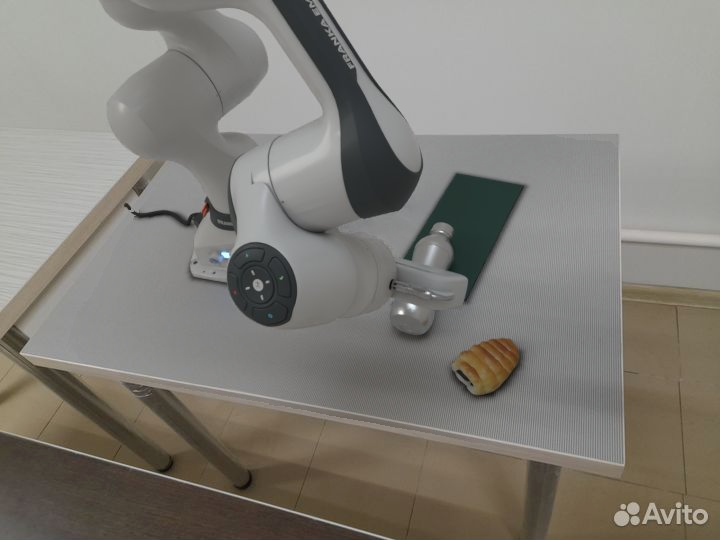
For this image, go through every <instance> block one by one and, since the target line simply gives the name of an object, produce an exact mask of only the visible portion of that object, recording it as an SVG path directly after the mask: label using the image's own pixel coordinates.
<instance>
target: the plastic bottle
mask: <svg viewBox="0 0 720 540" xmlns="http://www.w3.org/2000/svg"><path fill="white" fill-rule="evenodd" d="M453 235H454V229H453V228H452V227H451V226H450V225H449V224H446V223H442V222H439V223H436V224H434V226H433V228H432V230H431V231H430V233H429V236H426V237H424V238H422V239H421V240H420V241H419V242H418V243H417V244H416V246H415V249H414V252H413V257H412V261H413V262H416V263H420V264H424V265H428V266H431V267H435V268H439V269H443V270H446V271H448V270H449V268H450V266H451V265H452V263H453V260H454V250H453V247H452V245H451V242H452V240H453ZM435 314H436V310H434V309H428V308H424V307H420V306H417V305H413V304H410V303H407V302H404V301H400V300H397V299H394V298H393V301H392V303H391V305H390V308H389V315H388V316H389V320H390V323H391V324H392V326H393V327H395V328H396V329H397V330H398V331H401V332H402V333H405V334H408V335H412V336H420V335H423V334H425V333H426V332H428V331H429V330H430V328H431V327H432V325H433V323H434V320H435V316H436V315H435Z"/></svg>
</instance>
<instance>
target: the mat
mask: <svg viewBox="0 0 720 540" xmlns="http://www.w3.org/2000/svg"><path fill="white" fill-rule="evenodd" d="M523 189H524V184H518V183H513V182H507V181H501V180H496V179H490V178H485V177H481V176H474V175H468V174H463V173H455V175H454V176H453V178H452V180H451V182H450V183H449V185H448V187H447V188H446V190H445V191H444V193H443V195H442V196H441V198H440V199H439V201H438V203H437V204H436V206H435V208H434V209H433V210H432V212H431V214H430V215H429V217H428V219H427V221H426V222H425V224H424V225H423V226H422V228H421V230H420V231H419V233H418V235H417V236H416V238H415V240H414V241H413V243H412V244H411V246H410V247H409V250H408V251H407V253H406V254H405V256H404V257H403V259H405V260H409V261H412V257H413V252H414V249H415V246H416V244H417V243H418V242H419V241H420V240H421V239H422V238H424V237H426V236H429V233H430V231H431V230H432V228H433V226H434V224H436V223H439V222H442V223H446V224H449V225H450V226H451V227H452V228H453V229H454V235H453V240H452V242H451V245H452V247H453V250H454V260H453V263H452V265H451V266H450V268H449V270H448V271H450V272H454V273H457V274H461V275H463V276H465V277H466V278H467V279H468V286H467V290H466V295H465V298H464V302H466V301H467V299H468V297H469V295H470V293H471V291H472V289H473V287H474V285H475V283H476V281H477V279H478V277H479V276H480V273H481V272H482V269H483V268H484V266H485V264H486V262H487V260H488V258H489V256H490V254H491V252H492V250H493V248H494V246H495V244H496V242H497V240H498V238H499V236H500V234H501V232H502V230H503V228H504V226H505V224H506V222H507V220H508V218H509V216H510V214H511V212H512V210H513V208H514V206H515V204H516V202H517V201H518V198H519V196H520V194H521V193H522V191H523Z"/></svg>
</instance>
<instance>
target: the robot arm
mask: <svg viewBox="0 0 720 540" xmlns="http://www.w3.org/2000/svg"><path fill="white" fill-rule="evenodd" d="M98 1H99V3H100V5H101V6H102V9H103V11H104V12H105V13H106V14H107V15H108V17H109V18H110V19H112V20H113V21H114V22H115V23H117V24H118V25H120V26H122V27H124V28H127V29H130V30H135V31H143V32H145V31H146V32H147V31H148V32H158V33H159V35H160V36H161V37H162V39H163V40H164V42H165V45H166V47H167V50H166V51H165V52H164V53H163V54H161V55H159V57H157V58H155V59H154V60H153V61H151V62H149V63H148V64H147V65H145V66H144V67H141V68H140V69H139V70H137V71H136V72H134V73H133V74H131V75H130V76H129V77H128V78H127V79H125V81H124V82H123V83H122V84H121V85H120V86H119V87H118V89H116V91H115V92H113V94H112V95H111V96H110V97H109V99H108V100H107V102H106V117H107V121H108V124H109V125H108V126H109V127H110V130H111V132H112V133H113V135H114V137H115V138H116V139H117V141H118V142H119V143H120V144H121V145H122V147H124V148H125V149H126V150H127V151H129V152H130V153H132V154H134V155H136V156H138V157H141V158H142V159H143V158H144V159H145V160H146V159H147V160H150V161H168V162H173V163H175V164H178V165H180V166H182V167H184V168H185V169H187V170H188V171H189V172H190V174H192V175H193V177H194V178H195V179H196V181H197V183H198V184H199V186H200V188H201V189H202V190H203V191H204V193H205V195H206V197H205V198H204V201H203V202H204V205H203V207H202V209H201V211H199V212H198V211H197V212H193V213H191V214H190V215H189V216H188V218H187V220H185V219H183V218H182V217H181V216H180V215H178V214H177V213H176V212H174V211H171V210H167V209H160V210H154V211H149V212H137V211H135V210H134V212H130V213H131V214H132V215H134V216H135V217H141V218H142V217H143V218H144V217H151V216H157V215H162V214H163V215H171V216H172V217H174V218H175V219H176V220H177V221H179V223H181V224H183V225H186V226H187V225H190V224H191V223H192V222H193V223H194V225H195V227H196V231H195V233H194V237H193V251H192V255H191V258H190V264H189V267H190V272H191V275H192V276H193V277H195V278H198V279H202V280H203V279H204V280H209V281H214V282H221V283H225V284H226V285H227V289H228V292H229V296H230V298H231V300H232V302H233V303H234V305H235V306H236V308H237V309H238V310H239V311H240V312H241V313H242V314H243V315H244V316H245V317H246V318H248V320H250V321H252V322H254V323H256V324H258V325H260V326H262V327H265V328H269V329H274V330H283V331H284V330H286V331H287V330H288V331H291V330H301V329H303V330H304V329H308V328H313V327H319V326H322V325H326V324H330V323H333V322H335V321H336V320H342V319H350V318H354V317H357V316H362V315H365V314H370V313H373V312H375V311H377V310H379V309H381V308H382V307H384V306H385V305H386V304H387V302H388V301H390V299H393V300H394V299H397V300H400V301H404V302H407V303H410V304H413V305H417V306H420V307H424V308H428V309H434V310H435V311H443V310H445V311H446V310H452V309H458V308H460V307H462V306H463V304H464V302H465V301H464V298H465V295H466V290H467V286H468V279H467V278H466V277H465V276H463V275H461V274H457V273H454V272H450V271H446V270H443V269H439V268H435V267H431V266H428V265H424V264H420V263H416V262H413V261H409V260H405V259H404V258H401V257H397V256H394V255H393V252H392V251H391V249H390V248H389V246H388V245H387V244H386V243H385V242H384V241H382V239H380V238H378V237H377V236H375V235H373V234H371V233H370V234H369V233H364V232H342V231H340V230H339V229H338V228H339V227H342V226H344V225H347V224H349V223H353V222H356V221H359V220H362V219H363V220H365V219H371V218H374V217H378V216H383V215H387V214H391V213H395V212H399V211H401V210H402V209H403V208H404V206H405V205H406V204H407V203H408V201H409V200H410V198H411V197H412V196H413V193H414V192H415V190H416V188H417V187H418V184H419V181H420V178H421V176H422V174H423V173H422V172H423V169H424V158H423V154H422V150H421V147H420V144H419V141H418V138H417V136H416V134H415V133H414V130H413V128H412V127H411V126H410V124H409V122H408V121H407V119H406V118H405V116H404V114H403V113H402V112H401V111H400V110H399V108H398V107H397V105H396V104H395V103H394V102H393V101H392V99H391V98H390V97H389V95H387V93H386V92H385V91H384V89H383V88H382V87H381V86H380V85H379V83H378V82H377V80H376V79H375V77H374V76H373V75H372V73H371V71H370V70H369V68H368V66H366V64H365V63H364V61H363V59H362V58H361V57H360V55H359V54H358V52H357V50H356V49H355V47H354V46H353V44H352V42H351V41H350V39H349V38H348V36H347V35H346V33H345V32H344V30H343V28H342V27H341V25H340V24H339V22H338V21H337V19H336V18H335V16H334V14H333V12H331V10H330V9H329V7H328V5H327V4H326V2H325V1H324V0H98ZM219 9H236V10H240V11H244V12H246V13H248V14H249V15H252V16H253V17H254V18H256V19H258V20H259V21H260V22H261V23H263V25H264V26H265V27H266V28H267V30H268V31H270V33H271V34H272V36H273V37H274V39H275V41H276V43H278V45H279V46H280V48H281V50H283V52H284V54H285V55H286V56H287V58H288V59H289V61H290V62H291V64H292V65H293V67H294V68H295V70H296V71H297V73H298V74H299V75H300V77H301V79H302V80H303V81H304V83H305V84H306V86H307V87H308V89H309V90H310V92H311V93H312V94H313V96H314V97H315V99H316V101H317V102H318V104H319V105H320V108H321V110H322V111H321V112H322V115H321V116H319V117H318V118H315V119H314V120H311V121H308V122H307V123H305V124H303V125H301V126H299V127H297V128H295V129H293V130H291V131H289V132H286V133H284V134H281V135H277V136H276V137H273V138H271V139H270V140H267V141H265V142H263V143H261V144H259V143H258V142H257V141H256V140H255V139H254V138H253V137H251V136H249V135H248V134H246V133H242V132H237V131H222V132H221V131H220V130H219V121H221V120H222V118H223V117H225V116H226V115H227V114H228V113H230V112H231V111H232V110H233V109H235V108H236V107H237V106H238V105H240V104H241V103H243V102H244V101H245V100H247V99H248V98H249V97H250V96H251V95H252V93H253V92H254V91H255V90H256V89H257V88H258V86H259V85H260V84H261V82H262V81H263V80H264V78H265V77H266V76H267V74H268V71H269V57H268V53H267V50H266V49H267V48H266V46H265V43H264V42H263V40H262V39H261V37H260V36H259V34H258V33H257V32H256V31H255V30H254V29H253V28H252V27H251V26H250V25H248V24H246V23H245V22H243V21H241V20H239V19H236V18H232V17H230V16H227V15H225V14H223V13H221V12H220V11H218V10H219ZM123 207H124V208H126V209H127V210H128V211H129V210H131V208H132V206H131V205H130V204H129V203H128V202H125V203H124V204H123Z"/></svg>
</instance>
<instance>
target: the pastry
mask: <svg viewBox="0 0 720 540" xmlns="http://www.w3.org/2000/svg"><path fill="white" fill-rule="evenodd" d="M519 360H520V351H519V348H518V346H517V344H515V343H514V341H513V339H511V338H505V337H501V338H500V337H499V338H490V339H488V340H487V341H483V340H482V341H480V342H479V343H478V344H473V345H471V347H470V348H469V349H468V350H463V351H461V352H460V353H459V355H458V357H457V358H456V359H455V360H454V361H452V363H451V370H452V371H453V372H454V373H455V376H456V378H457V379H458V380H459V381H460V382H461V383H462V384H464V385H465V386H466V388H467V390H468V391H469V392H470V393H471V394H472V395H475V396H482V395H485V394H486V395H487V394H490V393H493V392H494V391H496V390H497V389H499V388H500V387H501V385H503V384H504V383H505V381H506V380H507V379H508V378H509V377H510V375H511V373H513V371H514V370H515V368H516V367H517V365H518V363H519Z"/></svg>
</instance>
